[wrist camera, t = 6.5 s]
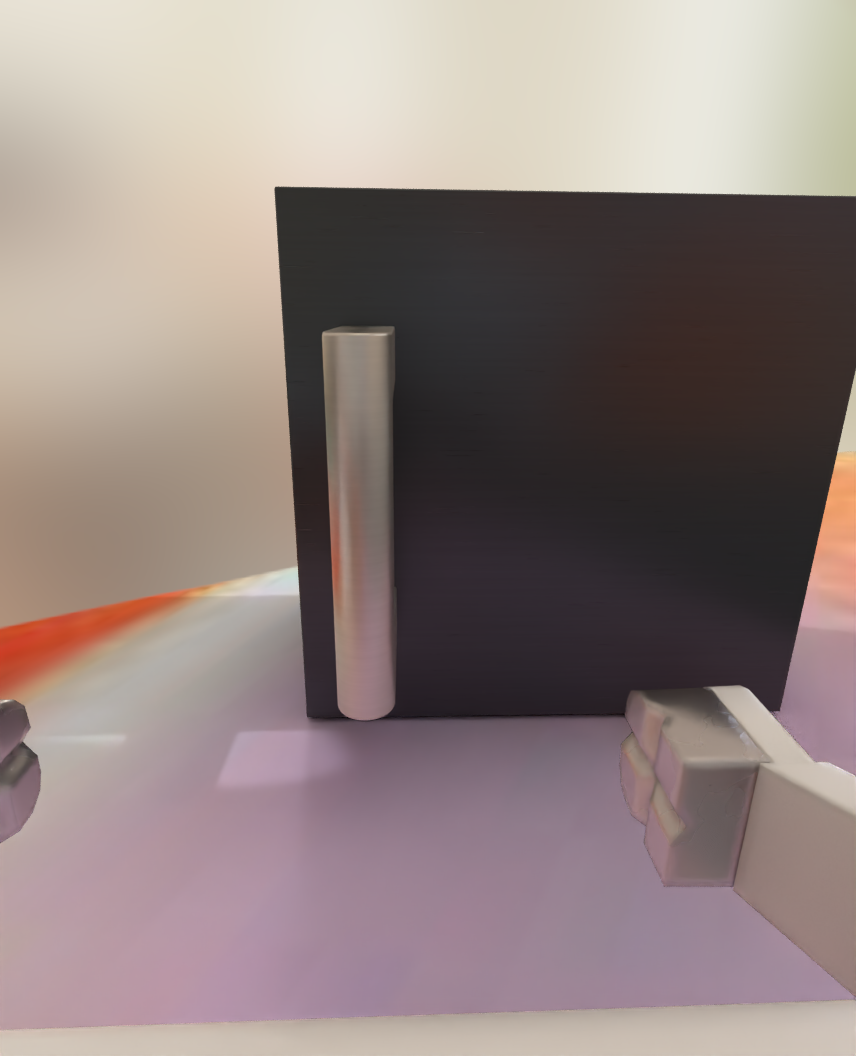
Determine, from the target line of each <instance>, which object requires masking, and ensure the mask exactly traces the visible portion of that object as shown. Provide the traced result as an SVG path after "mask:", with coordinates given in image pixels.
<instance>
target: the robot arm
mask: <svg viewBox="0 0 856 1056" xmlns="http://www.w3.org/2000/svg"><path fill="white" fill-rule="evenodd" d="M625 718H626V720H627V722H628V724H629V726H630V728H631V729H632V731H633V732H632V733H631V734H630V735H629V736H628V737H627V738H626V739H625V740H624V741H623V742H622V744H621V751H620V762H619V767H620V778H621V786H622V790H623V794H624V798H625V801H626V803H627V806H628V808H629V810H630V813H631V815H632V816H633V817H634V818H636V819H637V820H638V821H640V822H641V823H642V824H644V825H645V826H646V831H645V838H644V844H645V846H646V848H647V851H648V853H649V855H650V857H651V859H652V862H653V864H654V866H655V868H656V870H657V872H658V875H659V877H660V879H661V881H662V883H663V886H664V887H733V891H735V892H736V893H737V894H738V895H739V896H740V897H741V898H743V899H744V900H745V901H746V902H747V903H748V904H749V905H751V906H752V907H753V908H754V909H755V910H756V911H757V912H759V913H760V914H761V915H762V916H763V917H764V918H765V919H767V920H768V921H769V922H770V923H771V924H772V925H773V926H775V927H776V928H777V929H778V930H779V931H780V932H781V933H783V934H784V935H785V936H786V937H787V938H788V939H789V940H791V941H792V942H793V943H794V944H795V945H796V946H797V947H799V948H800V949H801V950H802V951H803V952H804V953H806V954H807V955H808V956H809V957H810V958H811V959H812V960H814V961H815V962H816V963H817V964H818V965H819V966H820V967H822V968H823V969H824V970H825V971H826V972H827V973H828V974H830V975H831V976H832V977H833V978H834V979H835V980H836V981H838V982H839V983H840V984H841V985H842V986H843V987H844V988H846V989H847V990H848V991H849V992H850V993H851V994H852V995H854V996H855V997H856V776H855V775H853V774H851V773H849V772H847V771H845V770H843V769H841V768H839V767H837V766H835V765H833V764H831V763H829V762H815V761H814V760H813V759H812V758H811V757H810V756H809V755H808V754H807V753H806V752H805V750H804V749H803V748H802V747H801V746H800V745H799V744H798V743H797V742H796V741H795V740H794V738H793V737H792V736H791V735H790V734H789V733H788V732H787V731H786V730H785V729H784V727H783V726H782V725H781V724H780V723H779V722H778V721H777V720H776V719H775V718H774V716H773V715H772V714H771V713H770V712H769V711H768V710H767V709H766V708H765V707H764V705H763V704H762V703H761V702H760V701H759V700H758V699H757V698H756V697H755V696H754V695H753V693H752V692H751V691H750V690H749V689H747V688H745V687H742V686H740V685H735V686H716V687H703V688H682V689H655V690H631V692H630V694H629V696H628V699H627V703H626V710H625ZM30 728H31V727H30V723H29V720H28V716H27V713H26V710H25V706H24V705H22V704H20V703H19V702H17V701H15V700H0V843H1V842H3V841H4V840H6V839H8V838H9V837H11V836H12V835H14V834H15V833H17V832H19V831H20V830H21V829H22V827H23V826H24V824H25V823H26V821H27V820H28V818H29V817H30V816H31V814H32V813H33V810H34V807H35V804H36V801H37V798H38V795H39V792H40V782H41V770H40V765H39V761H38V756H37V755H36V754H35V753H34V752H33V751H32V750H31V749H30V748H29V747H27V746H26V745H25V744H24V743H23V742H22V741H23V739H24V738H25V736H26V734H27V733H28V731H29V729H30ZM0 1056H856V1000H830V1001H802V1002H775V1003H747V1004H720V1005H693V1006H666V1007H637V1008H608V1009H579V1010H550V1011H521V1012H491V1013H462V1014H433V1015H404V1016H375V1017H346V1018H319V1019H291V1020H263V1021H235V1022H207V1023H179V1024H151V1025H123V1026H95V1027H67V1028H39V1029H11V1030H0Z"/></svg>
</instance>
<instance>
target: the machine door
mask: <svg viewBox="0 0 856 1056" xmlns="http://www.w3.org/2000/svg"><path fill="white" fill-rule="evenodd" d="M275 205H276V221H277V236H278V253H279V269H280V284H281V302H282V316H283V317H282V318H283V333H284V349H285V366H286V382H287V399H288V415H289V430H290V447H291V462H292V480H293V496H294V512H295V527H296V544H297V560H298V577H299V593H300V609H301V625H302V641H303V658H304V674H305V690H306V706H307V717H349V718H351V719H355V720H374V719H378V718H381V717H383V716H459V715H535V714H611V713H625V710H626V703H627V699H628V696H629V694H630V692H631V690H655V689H682V688H703V687H716V686H735V685H740V686H742V687H745V688H747V689H749V690H750V691H751V692H752V693H753V695H754V696H755V697H756V698H757V699H758V700H759V701H760V702H761V703H762V704H763V705H764V707H765V708H766V709H767V710H768V711H780V707H781V703H782V698H783V694H784V689H785V685H786V680H787V676H788V671H789V667H790V662H791V658H792V653H793V649H794V644H795V640H796V635H797V631H798V626H799V622H800V617H801V613H802V608H803V604H804V599H805V595H806V590H807V586H808V581H809V577H810V572H811V568H812V563H813V559H814V554H815V550H816V545H817V541H818V536H819V532H820V527H821V523H822V518H823V514H824V510H825V505H826V501H827V496H828V492H829V487H830V483H831V478H832V474H833V469H834V465H835V460H836V456H837V451H838V446H839V442H840V438H841V433H842V429H843V424H844V420H845V415H846V411H847V406H848V401H849V397H850V393H851V388H852V384H853V379H854V375H855V370H856V196H805V195H745V194H742V195H741V194H686V193H685V194H683V193H681V194H680V193H626V192H625V193H624V192H565V191H563V192H561V191H506V190H504V191H502V190H501V191H500V190H444V189H441V190H440V189H385V188H384V189H383V188H325V187H275Z"/></svg>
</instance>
